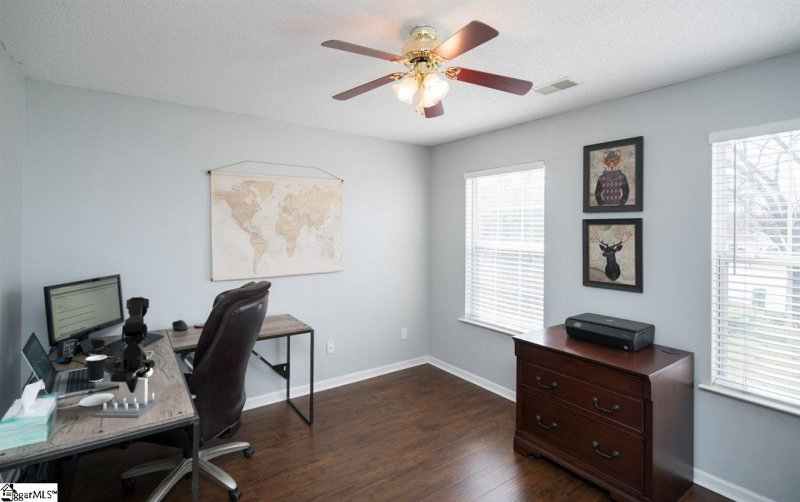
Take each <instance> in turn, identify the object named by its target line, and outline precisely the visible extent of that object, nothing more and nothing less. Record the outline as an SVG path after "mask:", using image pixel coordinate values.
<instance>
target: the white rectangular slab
mask: <svg viewBox="0 0 800 502" xmlns="http://www.w3.org/2000/svg"><path fill="white" fill-rule="evenodd" d="M148 382H149V377H145V378H138V381H137V384H136V387H135V390H134V392H133V393H130V391H129V388H128V386H127V384H126V382H118V384H119V387H118V395H119V397H118V401H119V404H123V398H124V397H126V403H128V404H133V398H136V403H139V404H144V398H147V402H148V400H149V399H148V395H149V394H148V393H149V391H148V388H149V387H148V384H149V383H148Z"/></svg>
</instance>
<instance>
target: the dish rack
mask: <svg viewBox="0 0 800 502" xmlns="http://www.w3.org/2000/svg"><path fill="white" fill-rule="evenodd" d="M150 396H151V398H150V399H148V402H147V398H144V404H139V403H136V398H133V404H128V403H126V397H124V398H123V404H119V400H116V396H115V397H112V400H111V401H112V404H110V405H109V406H107V402H103V404H102V405H103V406H102V410H100V411H99V412H97V413H95V418H132V419H134V418H135V419H137V418H138V419H139V418H141V417H142V416H143V415H145V414H147V413H148V412H149V411H151V410H152V409H153V408H154V407H156V406H157V405H160V403H161V401H162V400H161V399H155V392H151V393H150Z"/></svg>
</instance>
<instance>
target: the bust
mask: <svg viewBox="0 0 800 502" xmlns="http://www.w3.org/2000/svg"><path fill="white" fill-rule="evenodd" d="M153 373H154V370H153V369H152V368H150V371H149V372H147V373H146V375H145V378H149V377H151V376H152V374H153Z"/></svg>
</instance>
